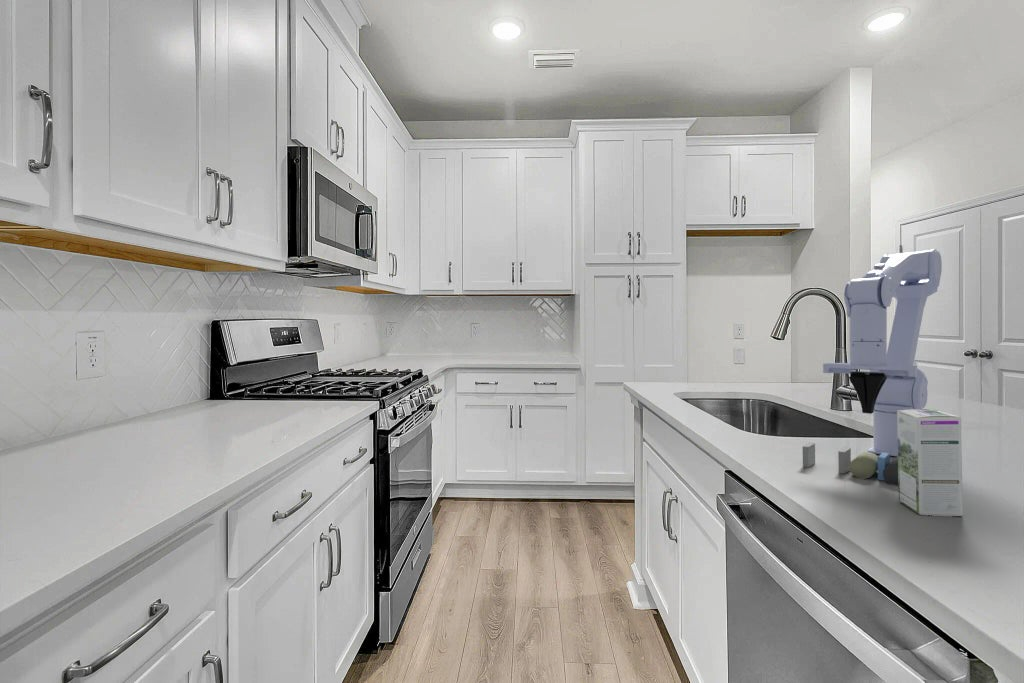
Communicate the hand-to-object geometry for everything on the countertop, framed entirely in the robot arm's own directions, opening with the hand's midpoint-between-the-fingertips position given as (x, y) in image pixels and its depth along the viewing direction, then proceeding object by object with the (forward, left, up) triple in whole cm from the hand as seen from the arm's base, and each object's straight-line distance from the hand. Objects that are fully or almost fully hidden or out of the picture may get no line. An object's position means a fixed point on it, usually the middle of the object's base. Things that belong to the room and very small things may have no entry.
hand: (867, 412), depth 96 cm
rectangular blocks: (+6, +1, -10) cm, 12 cm away
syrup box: (+19, +12, -11) cm, 25 cm away
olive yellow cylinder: (+6, +1, -11) cm, 12 cm away
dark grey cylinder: (+4, +7, -10) cm, 13 cm away
